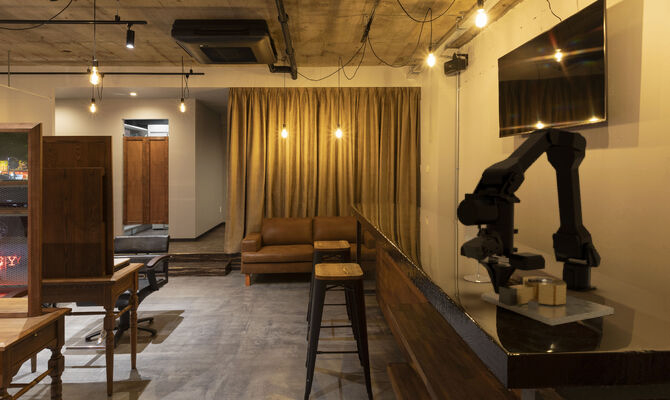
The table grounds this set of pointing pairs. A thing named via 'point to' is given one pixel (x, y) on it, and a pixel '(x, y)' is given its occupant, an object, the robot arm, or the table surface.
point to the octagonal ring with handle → (533, 292)
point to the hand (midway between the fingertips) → (498, 293)
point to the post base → (554, 308)
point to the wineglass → (469, 234)
